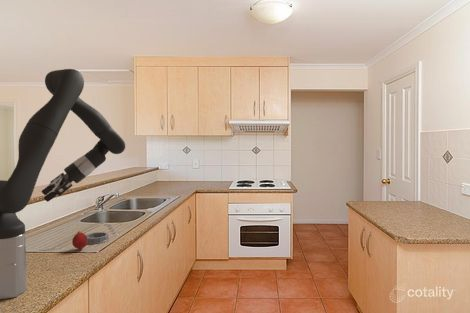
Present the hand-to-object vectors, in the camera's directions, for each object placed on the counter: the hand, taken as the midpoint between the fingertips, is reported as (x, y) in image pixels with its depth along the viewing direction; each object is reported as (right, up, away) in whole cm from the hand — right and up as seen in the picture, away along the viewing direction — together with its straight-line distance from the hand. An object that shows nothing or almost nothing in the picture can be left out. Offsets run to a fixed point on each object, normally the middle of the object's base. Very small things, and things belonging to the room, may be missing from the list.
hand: (44, 196), depth 123 cm
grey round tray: (+11, -23, +22) cm, 34 cm away
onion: (+9, -23, +10) cm, 27 cm away
